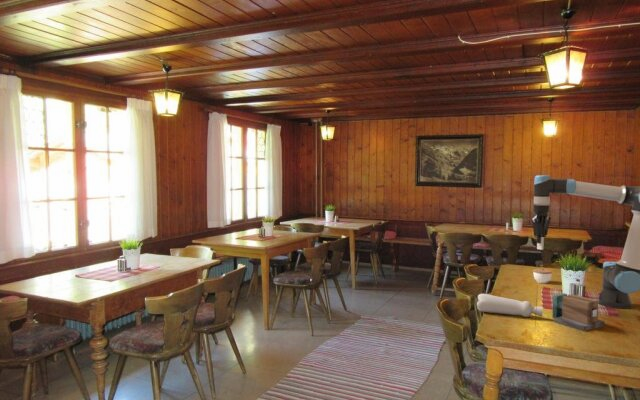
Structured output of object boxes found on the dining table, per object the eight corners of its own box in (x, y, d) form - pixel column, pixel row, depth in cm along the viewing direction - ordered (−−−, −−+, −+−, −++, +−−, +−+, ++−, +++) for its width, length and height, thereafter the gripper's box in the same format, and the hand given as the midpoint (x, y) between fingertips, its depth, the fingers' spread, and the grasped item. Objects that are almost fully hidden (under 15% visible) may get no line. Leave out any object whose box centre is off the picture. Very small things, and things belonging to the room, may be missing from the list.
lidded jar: (550, 285, 291) (550, 270, 290) (531, 282, 296) (532, 268, 296) (552, 281, 300) (552, 267, 299) (534, 279, 305) (534, 265, 305)
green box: (562, 315, 228) (563, 293, 228) (599, 325, 213) (600, 302, 212) (552, 317, 225) (553, 295, 224) (589, 328, 209) (590, 304, 208)
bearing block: (575, 317, 227) (576, 293, 226) (604, 325, 215) (605, 300, 214) (554, 322, 219) (555, 297, 218) (583, 331, 207) (584, 304, 206)
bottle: (475, 307, 232) (542, 317, 219) (478, 290, 236) (543, 299, 223) (477, 313, 239) (541, 323, 226) (479, 296, 243) (543, 305, 230)
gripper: (543, 203, 249) (541, 247, 250) (526, 204, 243) (525, 249, 244) (555, 204, 242) (554, 249, 244) (539, 205, 236) (538, 251, 237)
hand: (540, 249), depth 244 cm, fingers closed
